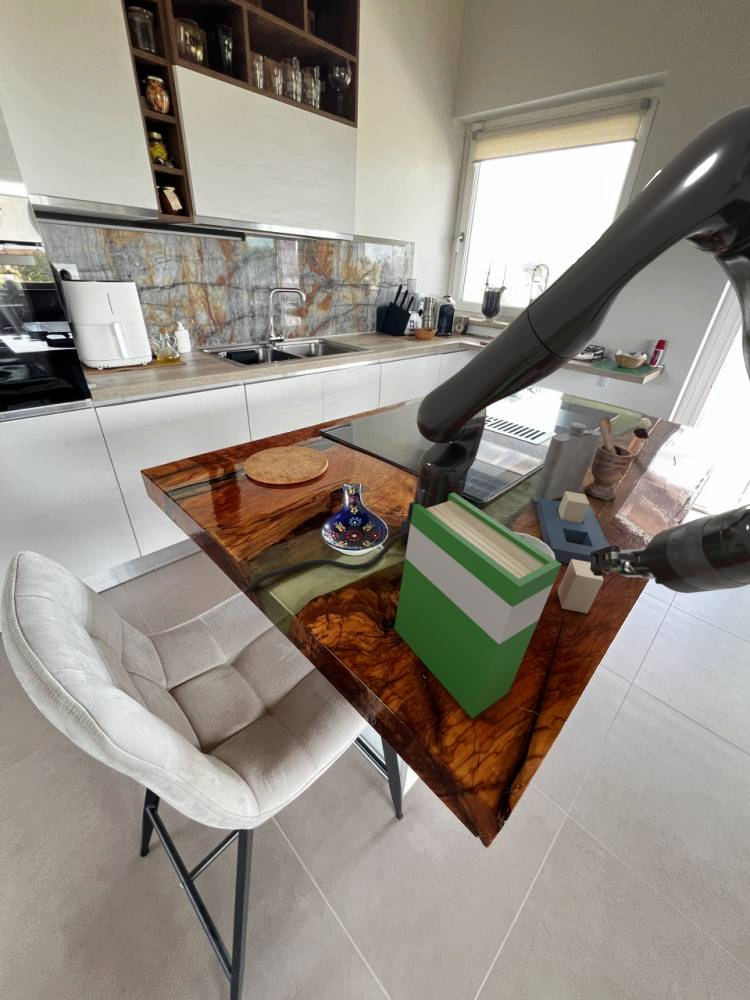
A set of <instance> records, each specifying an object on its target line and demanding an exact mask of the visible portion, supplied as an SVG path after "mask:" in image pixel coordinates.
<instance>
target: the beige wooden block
mask: <svg viewBox="0 0 750 1000" xmlns="http://www.w3.org/2000/svg"><path fill="white" fill-rule="evenodd" d="M561 498H562V499H561V501H560V502H561V504H560V506H559V509H558V515H559V518H560V520H565V521H570V522H576V523H582V521H583V519H584V516H585V514H586V511H587V509H588V507H590V502H589V499H588V498H587V496H586V494H584V493H580V492H579V493H574V492H568V491H565V493H564V496H563V497H561Z"/></svg>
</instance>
